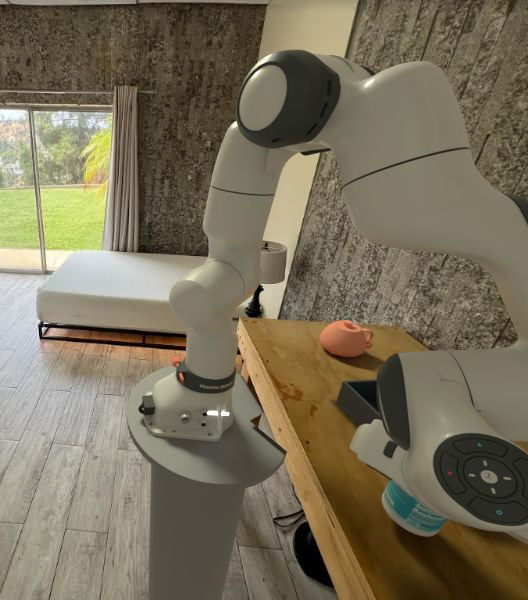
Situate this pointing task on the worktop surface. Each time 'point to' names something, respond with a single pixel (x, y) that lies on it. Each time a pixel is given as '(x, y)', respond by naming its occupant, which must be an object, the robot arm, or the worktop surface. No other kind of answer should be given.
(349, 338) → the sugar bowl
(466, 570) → the worktop surface
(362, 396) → the bin
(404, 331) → the worktop surface
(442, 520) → the pill bottle
